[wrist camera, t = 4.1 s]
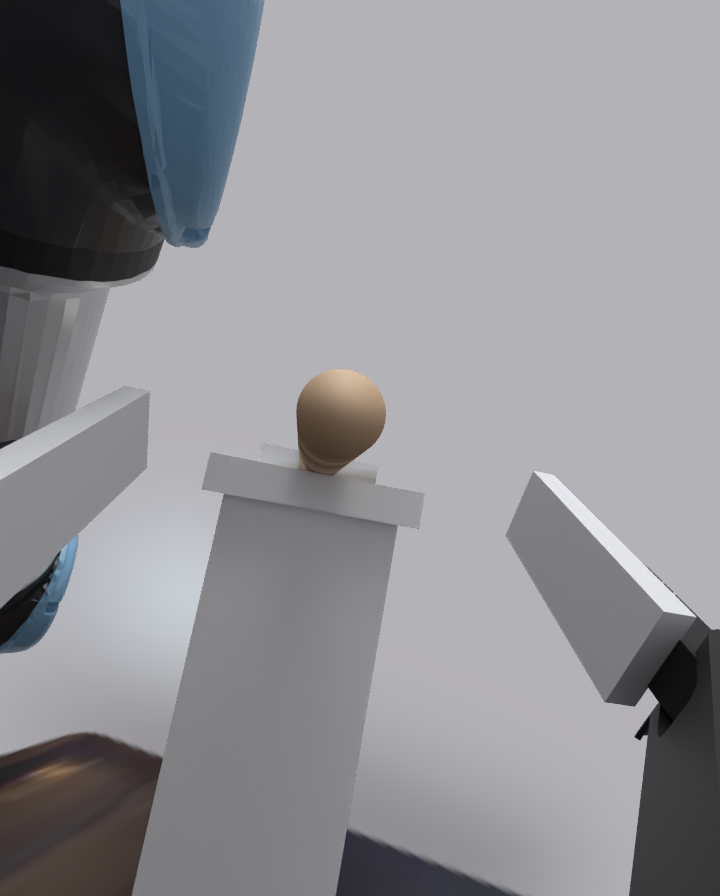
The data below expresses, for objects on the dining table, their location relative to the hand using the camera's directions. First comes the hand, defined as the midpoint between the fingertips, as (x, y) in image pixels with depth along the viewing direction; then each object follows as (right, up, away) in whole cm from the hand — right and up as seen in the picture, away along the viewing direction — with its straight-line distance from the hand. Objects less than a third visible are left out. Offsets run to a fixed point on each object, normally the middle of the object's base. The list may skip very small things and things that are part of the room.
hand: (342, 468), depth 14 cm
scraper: (-2, -1, +11) cm, 11 cm away
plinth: (-8, -31, +11) cm, 34 cm away
